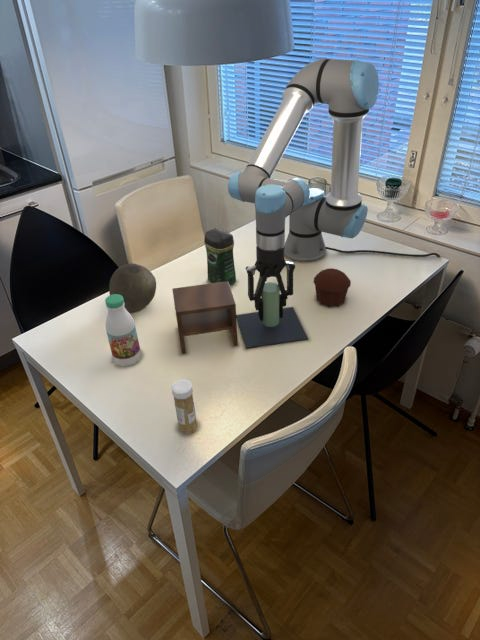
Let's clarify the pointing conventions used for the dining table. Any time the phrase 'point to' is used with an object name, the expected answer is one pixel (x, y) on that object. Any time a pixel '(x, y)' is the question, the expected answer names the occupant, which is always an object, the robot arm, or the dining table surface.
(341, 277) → the muffin
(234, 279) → the coffee jar
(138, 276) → the dimpled grey orange
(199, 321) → the wooden side table
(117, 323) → the milk bottle
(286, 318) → the felt mat
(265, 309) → the canister
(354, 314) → the dining table surface
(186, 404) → the sprinkles bottle
